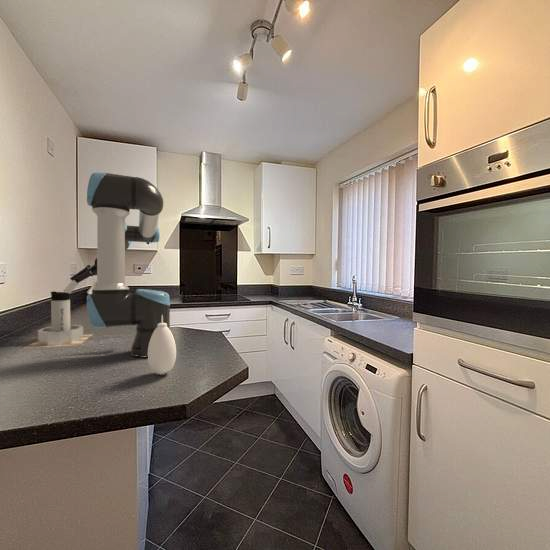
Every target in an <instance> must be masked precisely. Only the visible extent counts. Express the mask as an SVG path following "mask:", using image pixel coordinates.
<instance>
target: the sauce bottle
mask: <svg viewBox="0 0 550 550" xmlns="http://www.w3.org/2000/svg"><path fill="white" fill-rule="evenodd" d="M157 326H158V327H157V328H156V329H155V330H154V332H153V334H152V336H151V339H150V342H149V346H148V358H147V361H148V366H149V368H150V369H151V371H152V372H153V373H155V374H156V373H163V372H167V371H169V372H170V371H171V370H172V369H173V368H174V366H175V363H176V360H177V359H176V358H177V345H176V342H175V338H174V336H173V333H172V331H171V330H170V329H171V328H170V329H169V328H168V327H167V324H166V323H163V315H162V318H161V323H159V324H158V325H157Z"/></svg>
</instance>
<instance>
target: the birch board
mask: <svg viewBox="0 0 550 550" xmlns="http://www.w3.org/2000/svg"><path fill="white" fill-rule="evenodd" d="M93 335H94V333H93V334H83V339H82V340H80V341H77V342H74V343H69V344H62V345H49V346H47V345H40V344H39V343H38V340H37V341H35V342H32V343H30V344H28V345H26V346H24V347H23V349H32V348H51V347H66V346H68V347H69V346H70V347H71V346H80V345H81V344H83V343H84V342H85V341H87V340H88V339H89V338H90V337H92V336H93Z"/></svg>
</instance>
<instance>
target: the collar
mask: <svg viewBox="0 0 550 550" xmlns="http://www.w3.org/2000/svg"><path fill="white" fill-rule="evenodd" d="M83 335H84V326H83V325H81V324H79V325H78V324H70V330H67V331H59V332H51V326H47V327H42V328H41V329H38V330H37V341H38V343H39V344H40V345H47V346H49V345H62V344H69V343H74V342H77V341H80V340H82V339H83Z"/></svg>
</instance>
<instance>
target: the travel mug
mask: <svg viewBox="0 0 550 550" xmlns="http://www.w3.org/2000/svg"><path fill="white" fill-rule="evenodd" d="M50 297H51V299H50V301H51V302H50V306H51V307H50V312H51V313H50V314H51V315H50V318H51V320H50V321H51V322H50V323H51V325H50V327H51V332H59V331H67V330H70V325H71V293H65V292H64V291H62V292H61V291H54V290H53V291H50Z"/></svg>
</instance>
